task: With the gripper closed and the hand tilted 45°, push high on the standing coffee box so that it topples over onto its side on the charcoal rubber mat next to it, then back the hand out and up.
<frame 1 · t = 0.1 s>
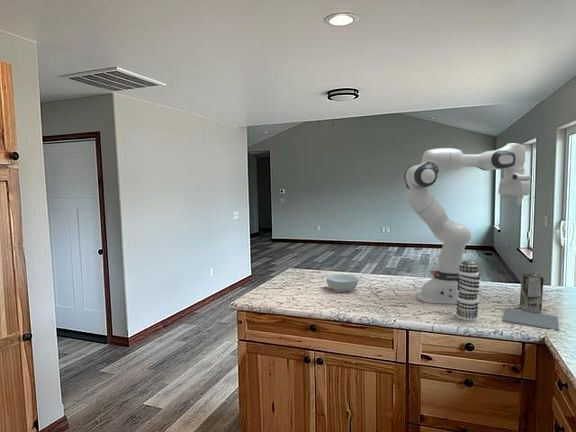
hand: (512, 204, 198), 48 cm above the worktop, tool pointing down, fingers open, 8 cm apart
element tile: (450, 284, 231), on the worktop
coffee box: (530, 309, 184), on the worktop
rubber mat: (530, 319, 170), on the worktop
decorative candle: (466, 317, 174), on the worktop
cereal bowl: (342, 290, 216), on the worktop
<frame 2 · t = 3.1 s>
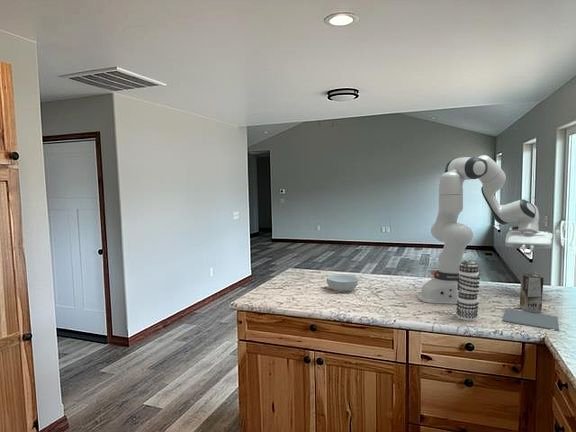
hand: (527, 253, 197), 23 cm above the worktop, tool tilted 45°, fingers closed
nothing on the worktop moved.
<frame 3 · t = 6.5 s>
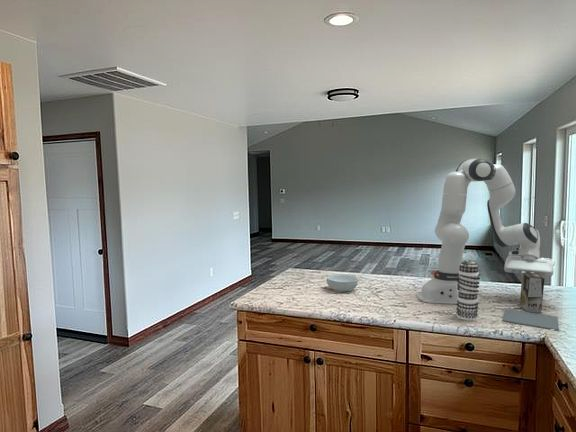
hand: (527, 280, 187), 12 cm above the worktop, tool tilted 45°, fingers closed
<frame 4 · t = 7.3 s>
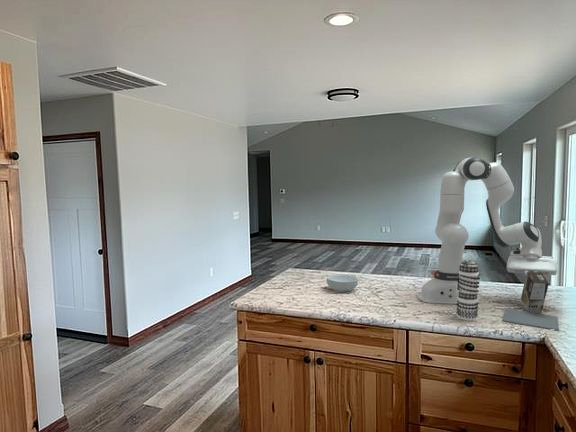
hand: (531, 280, 183), 14 cm above the worktop, tool tilted 45°, fingers closed
coffee box: (530, 306, 184), point 1 cm above the worktop, touching gripper
everything else where it was.
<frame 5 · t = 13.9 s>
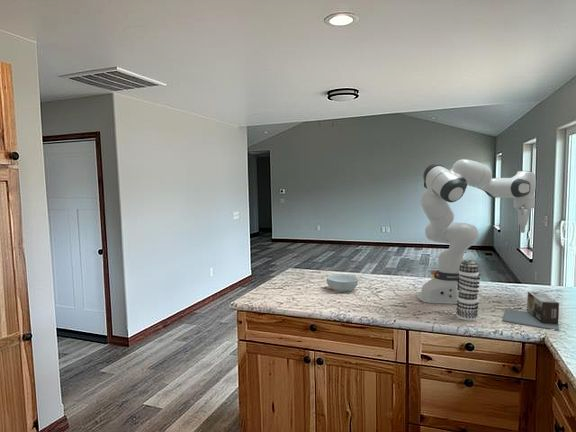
hand: (522, 232, 195), 34 cm above the worktop, tool pointing down, fingers closed
coffee box: (534, 301, 179), point 5 cm above the worktop, touching rubber mat
everything else where it was.
at the end: coffee box tilted 91°; coffee box touching rubber mat; the gripper is holding nothing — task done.
